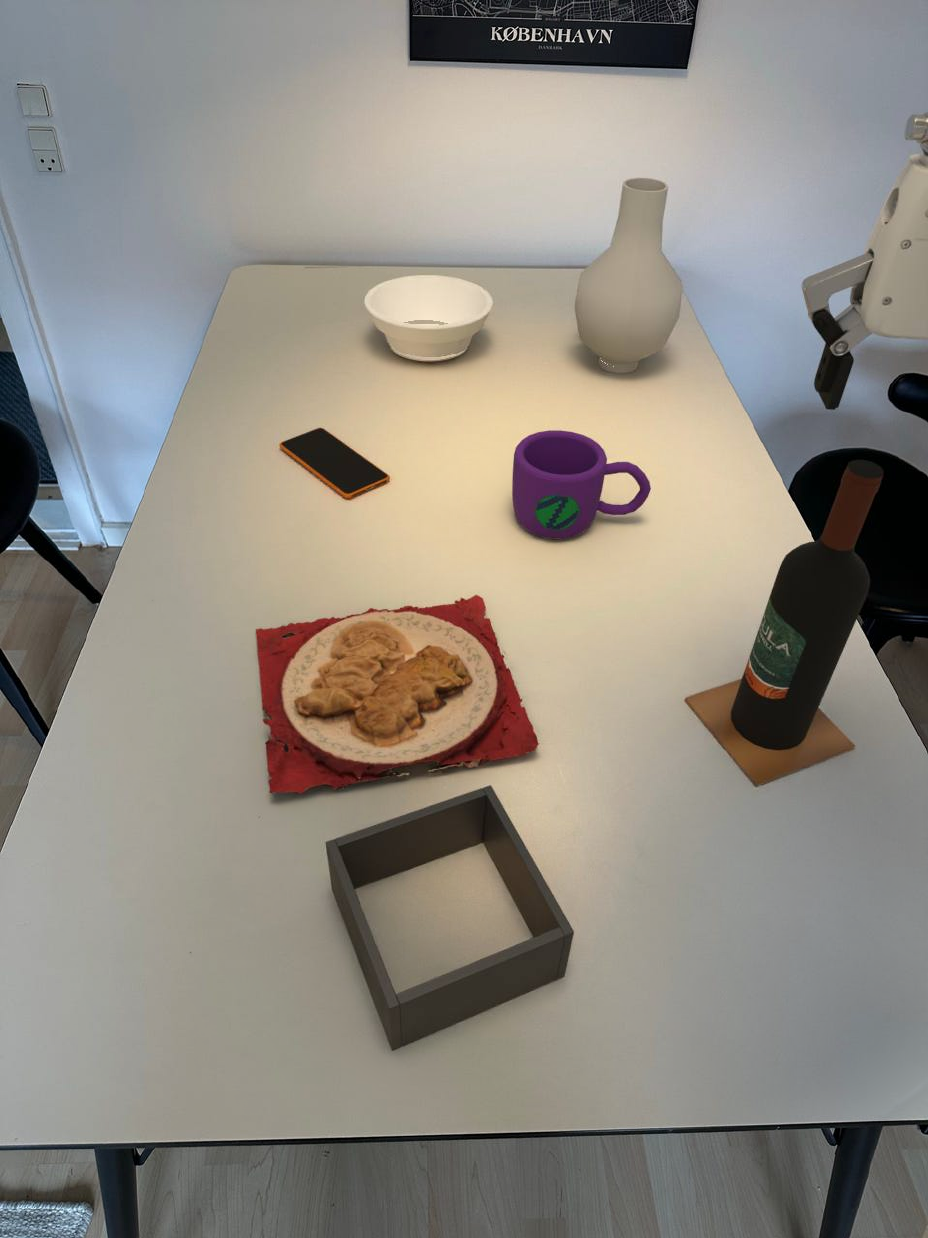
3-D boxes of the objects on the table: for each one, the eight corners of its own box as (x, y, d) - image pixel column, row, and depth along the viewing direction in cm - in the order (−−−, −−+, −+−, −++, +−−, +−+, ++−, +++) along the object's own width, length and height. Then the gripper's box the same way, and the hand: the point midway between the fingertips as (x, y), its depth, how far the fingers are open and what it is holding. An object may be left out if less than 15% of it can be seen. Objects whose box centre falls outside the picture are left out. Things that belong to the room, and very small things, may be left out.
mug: (508, 543, 113) (513, 475, 106) (510, 491, 121) (515, 425, 114) (647, 551, 112) (661, 484, 105) (640, 499, 121) (652, 433, 114)
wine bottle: (805, 759, 88) (917, 505, 67) (726, 738, 89) (813, 484, 69) (809, 704, 93) (914, 454, 73) (734, 686, 95) (818, 436, 74)
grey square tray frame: (565, 976, 71) (574, 931, 67) (391, 1051, 67) (388, 1009, 62) (487, 832, 81) (491, 784, 76) (331, 889, 77) (325, 841, 72)
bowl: (438, 310, 163) (438, 264, 158) (516, 352, 152) (519, 304, 146) (341, 341, 153) (338, 293, 148) (418, 389, 141) (417, 339, 136)
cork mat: (854, 749, 89) (855, 745, 89) (755, 787, 86) (757, 783, 85) (777, 669, 97) (778, 665, 97) (684, 700, 94) (685, 697, 93)
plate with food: (539, 761, 87) (543, 737, 85) (270, 802, 82) (267, 778, 80) (480, 605, 105) (482, 581, 103) (255, 630, 100) (252, 607, 97)
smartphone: (346, 501, 118) (346, 495, 118) (278, 448, 127) (277, 442, 127) (392, 480, 122) (392, 475, 122) (322, 430, 131) (322, 425, 131)
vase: (656, 341, 156) (687, 167, 137) (679, 387, 144) (717, 203, 125) (561, 342, 155) (579, 166, 136) (576, 388, 143) (598, 202, 124)
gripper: (864, 151, 50) (783, 424, 62) (1180, 165, 50) (1039, 437, 61) (831, 117, 56) (762, 373, 67) (1115, 130, 55) (997, 385, 67)
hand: (894, 403), depth 64 cm, fingers open, 9 cm apart
